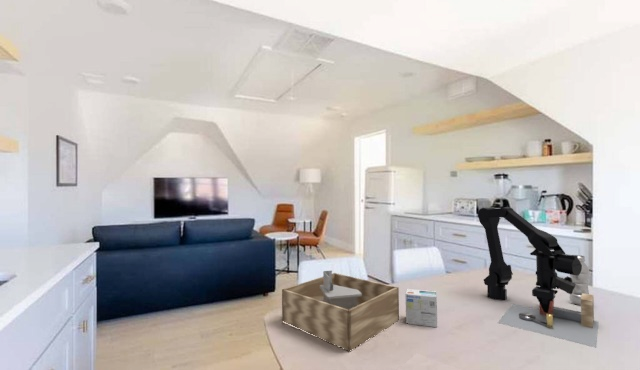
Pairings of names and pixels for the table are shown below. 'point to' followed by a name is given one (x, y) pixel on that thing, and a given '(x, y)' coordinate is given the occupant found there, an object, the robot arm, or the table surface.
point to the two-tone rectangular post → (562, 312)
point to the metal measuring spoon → (532, 318)
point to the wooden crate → (341, 310)
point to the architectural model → (338, 293)
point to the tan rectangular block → (587, 310)
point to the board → (560, 326)
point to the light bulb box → (421, 307)
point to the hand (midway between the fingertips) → (546, 311)
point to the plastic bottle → (580, 283)
